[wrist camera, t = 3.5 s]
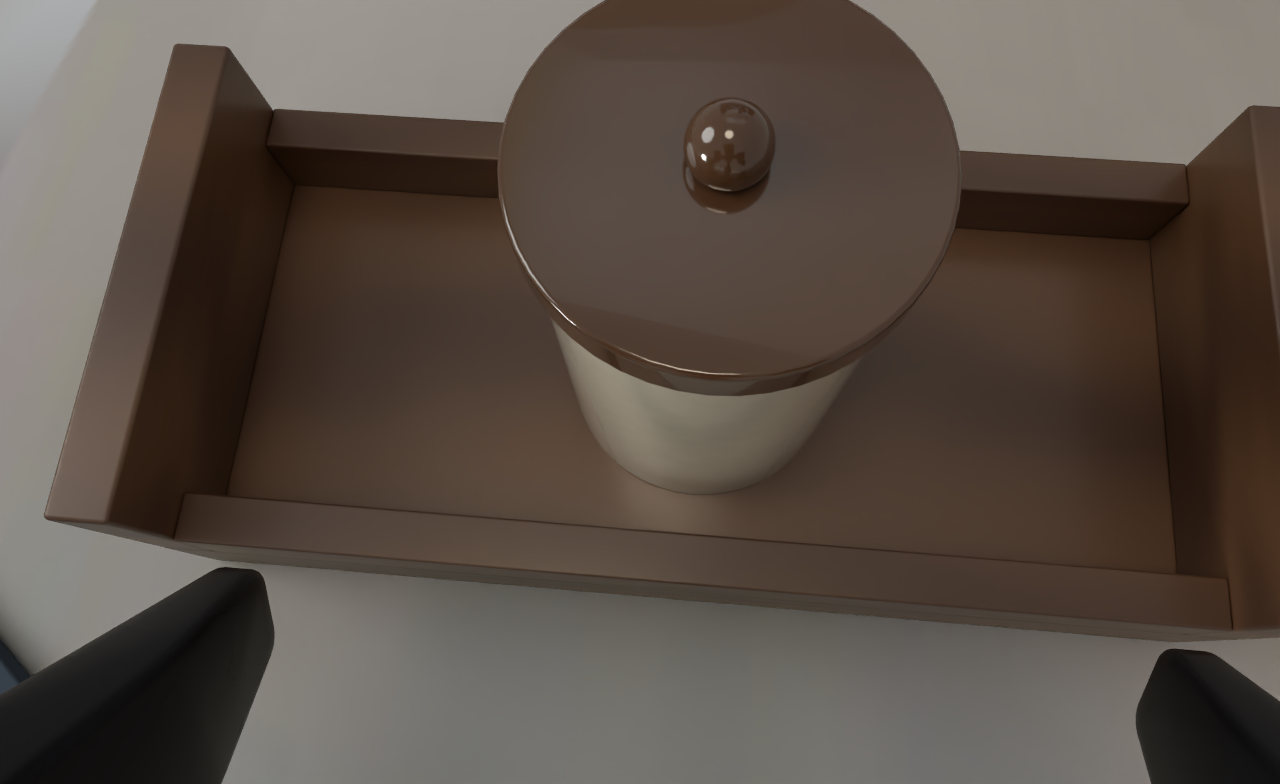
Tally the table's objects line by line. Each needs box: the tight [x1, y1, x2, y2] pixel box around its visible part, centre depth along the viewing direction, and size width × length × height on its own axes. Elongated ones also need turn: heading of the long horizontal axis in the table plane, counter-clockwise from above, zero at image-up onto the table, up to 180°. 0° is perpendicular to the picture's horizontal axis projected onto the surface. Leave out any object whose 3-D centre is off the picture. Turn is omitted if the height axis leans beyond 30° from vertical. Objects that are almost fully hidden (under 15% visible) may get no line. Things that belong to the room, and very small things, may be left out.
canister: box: [497, 0, 962, 494], centre depth 16 cm, size 6×6×10 cm
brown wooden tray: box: [44, 44, 1280, 642], centre depth 20 cm, size 10×23×6 cm, turn 85°
